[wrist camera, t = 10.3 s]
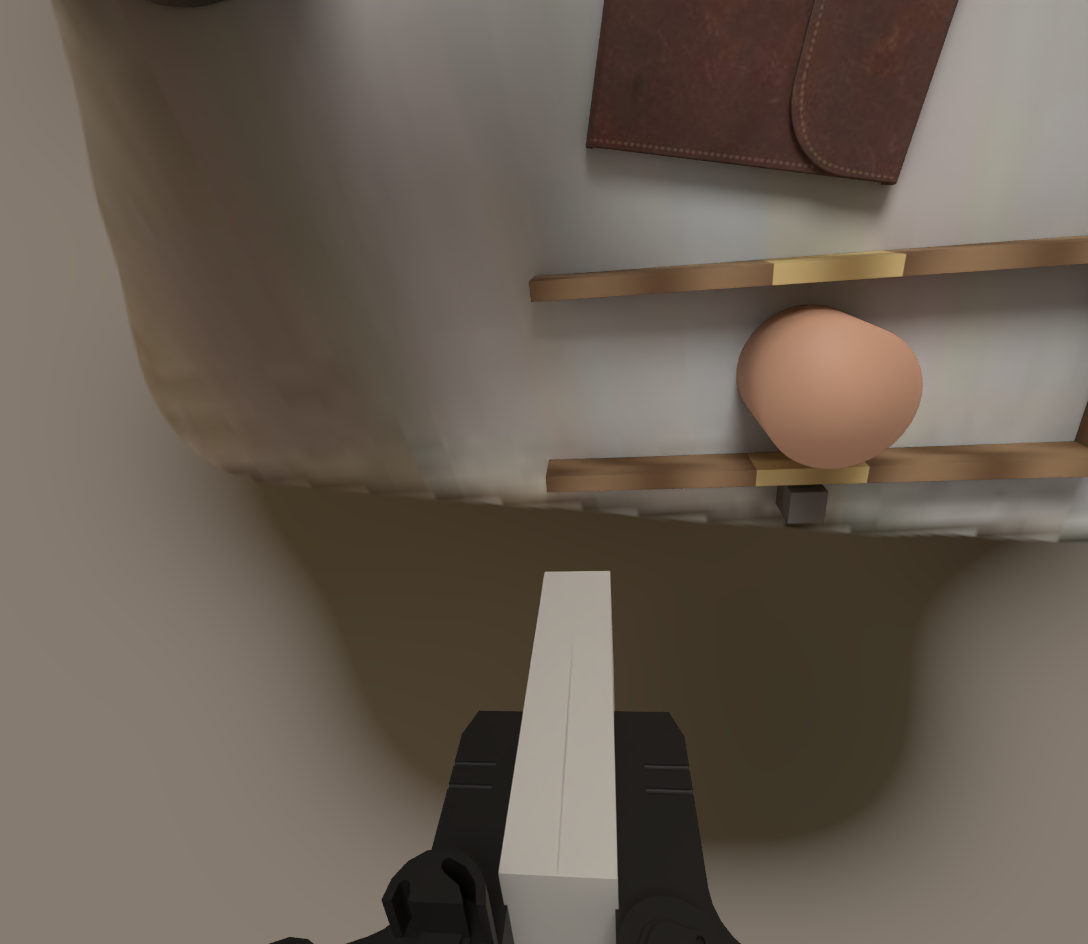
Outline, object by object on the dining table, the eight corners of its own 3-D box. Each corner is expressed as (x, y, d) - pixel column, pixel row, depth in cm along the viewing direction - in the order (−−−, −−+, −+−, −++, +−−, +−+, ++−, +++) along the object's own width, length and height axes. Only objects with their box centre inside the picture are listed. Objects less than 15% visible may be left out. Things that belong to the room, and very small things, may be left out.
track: (553, 509, 37) (550, 528, 35) (534, 276, 31) (529, 281, 29) (1075, 496, 33) (1109, 516, 31) (1167, 229, 27) (1218, 231, 25)
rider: (733, 430, 34) (758, 471, 28) (739, 309, 31) (769, 330, 25) (857, 424, 33) (908, 466, 27) (875, 299, 30) (936, 319, 25)
